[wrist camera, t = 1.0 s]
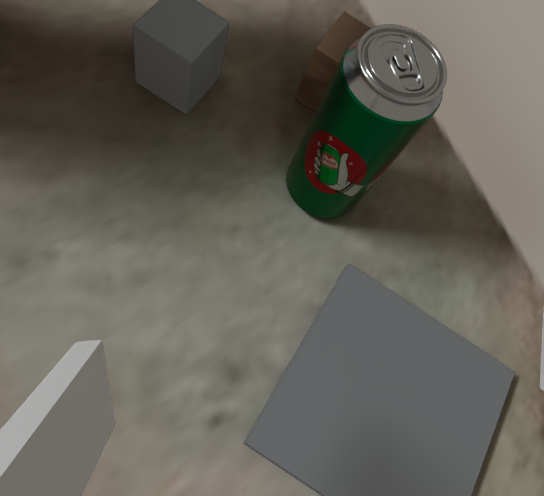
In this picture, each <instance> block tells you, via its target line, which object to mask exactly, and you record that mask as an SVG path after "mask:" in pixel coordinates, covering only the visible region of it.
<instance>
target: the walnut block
mask: <svg viewBox="0 0 544 496" xmlns="http://www.w3.org/2000/svg"><path fill="white" fill-rule="evenodd" d="M370 29H371V28H369V27H367V26H366V25H364V24H363V23H361V22H360V21H358V20H357V19H355V18H354V17H352V16H350V15H349V14H347V13H346V12H344V13H343V14H342V15H341V17H340V18H339V19H338V20H337V22H336V23H335V24H334V25H333V27H332V28H331V29H330V30H329V32H328V33H327V34H326V35H325V37H324V38H323V39H322V40H321V42H320V43H319V44H318V45H317V47H316V48H315V50H314V53H313V55H312V58H311V60H310V62H309V65H308V67H307V70H306V72H305V75H304V77H303V79H302V82H301V84H300V87H299V89H298V92H297V94H296V96H295V99H296V100H297V101H299V102H301V103H302V104H304V105H305V106H307V107H308V108H310V109H311V110H313V111H314V112H316V110H317V108H318V106H319V104H320V101H321V99H322V97H323V95H324V93H325V91H326V89H327V87H328V85H329V83H330V81H331V79H332V77H333V75H334V73H335V71H336V69H337V67H338V65H339V62H340V60H341V58H342V56H343V54H344V52H345V50H346V49H347V48H348V47H349V45H351V44H352V43H353V42H354V41H356V40H358V39H359V38H361V37H362V36H363V35H364V34H365V33H366V32H367V31H368V30H370Z"/></svg>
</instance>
